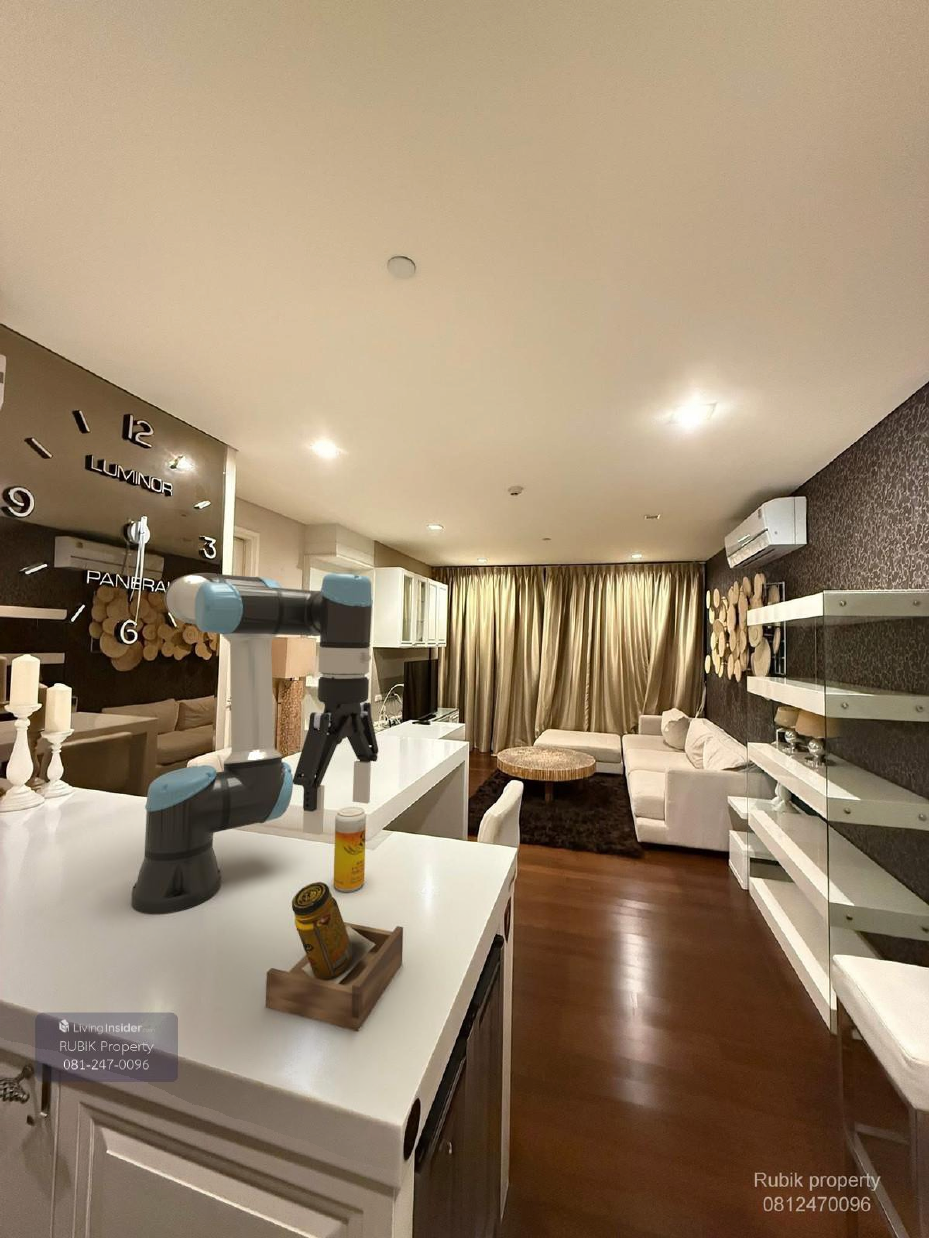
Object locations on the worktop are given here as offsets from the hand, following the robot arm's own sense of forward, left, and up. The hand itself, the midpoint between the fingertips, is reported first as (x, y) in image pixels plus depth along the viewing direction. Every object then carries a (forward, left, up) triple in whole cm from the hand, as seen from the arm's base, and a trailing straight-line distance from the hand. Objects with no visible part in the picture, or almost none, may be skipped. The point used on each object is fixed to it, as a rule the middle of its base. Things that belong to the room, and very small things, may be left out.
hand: (339, 816), depth 75 cm
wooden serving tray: (+2, -2, -23) cm, 23 cm away
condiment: (+1, -1, -20) cm, 20 cm away
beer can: (-11, +24, -23) cm, 36 cm away
